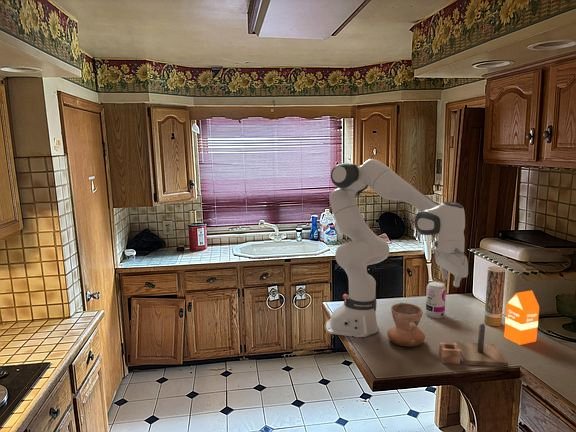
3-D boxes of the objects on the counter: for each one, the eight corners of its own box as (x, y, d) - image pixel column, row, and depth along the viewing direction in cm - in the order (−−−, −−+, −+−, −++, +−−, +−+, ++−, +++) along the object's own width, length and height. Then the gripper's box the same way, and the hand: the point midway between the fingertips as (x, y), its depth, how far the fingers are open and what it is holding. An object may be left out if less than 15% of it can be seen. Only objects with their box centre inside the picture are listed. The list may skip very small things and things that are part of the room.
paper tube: (484, 325, 183) (488, 270, 179) (483, 319, 189) (487, 265, 185) (502, 328, 181) (506, 271, 176) (500, 321, 187) (504, 267, 183)
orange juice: (503, 336, 173) (507, 290, 169) (520, 333, 176) (524, 287, 172) (520, 345, 166) (524, 296, 162) (536, 341, 168) (541, 293, 165)
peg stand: (465, 364, 152) (467, 331, 150) (455, 345, 166) (457, 315, 163) (506, 366, 150) (509, 333, 148) (493, 347, 164) (495, 317, 162)
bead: (442, 362, 153) (443, 350, 152) (438, 354, 159) (439, 342, 158) (459, 363, 152) (460, 350, 151) (455, 355, 158) (456, 343, 157)
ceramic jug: (430, 351, 161) (432, 316, 159) (392, 352, 161) (394, 316, 159) (416, 332, 179) (417, 299, 177) (382, 332, 179) (383, 300, 177)
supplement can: (446, 313, 196) (447, 282, 194) (441, 320, 190) (443, 288, 187) (428, 310, 201) (429, 280, 198) (423, 316, 194) (424, 285, 191)
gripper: (473, 252, 145) (472, 291, 147) (448, 240, 165) (447, 274, 167) (455, 253, 145) (454, 291, 147) (432, 241, 165) (431, 275, 167)
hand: (450, 282), depth 157 cm, fingers open, 8 cm apart
